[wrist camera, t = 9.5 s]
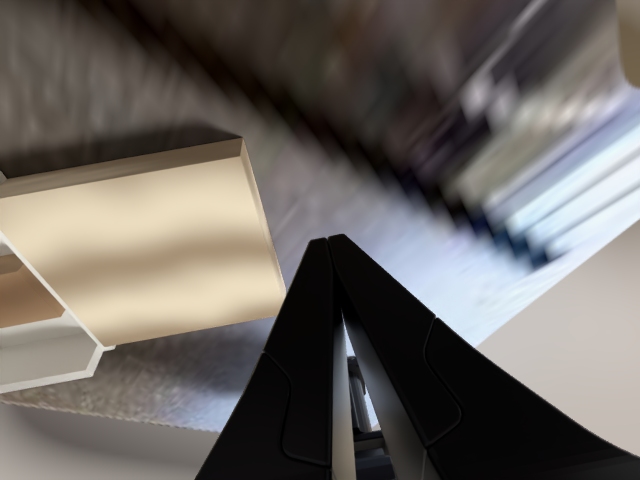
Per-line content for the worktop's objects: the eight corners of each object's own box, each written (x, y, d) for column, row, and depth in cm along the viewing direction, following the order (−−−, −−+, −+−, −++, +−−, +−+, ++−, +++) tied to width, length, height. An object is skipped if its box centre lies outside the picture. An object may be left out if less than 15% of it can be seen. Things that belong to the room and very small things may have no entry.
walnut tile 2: (74, 293, 23) (60, 317, 22) (16, 305, 23) (-2, 328, 22) (36, 249, 21) (17, 271, 19) (-29, 261, 21) (-54, 284, 19)
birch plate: (285, 288, 26) (287, 314, 24) (117, 319, 26) (104, 347, 24) (243, 137, 19) (240, 156, 17) (6, 179, 19) (-25, 202, 17)
